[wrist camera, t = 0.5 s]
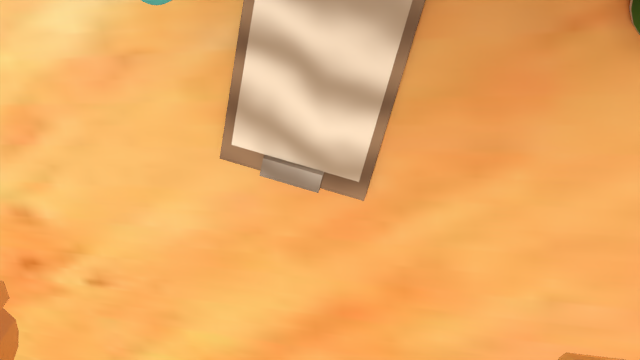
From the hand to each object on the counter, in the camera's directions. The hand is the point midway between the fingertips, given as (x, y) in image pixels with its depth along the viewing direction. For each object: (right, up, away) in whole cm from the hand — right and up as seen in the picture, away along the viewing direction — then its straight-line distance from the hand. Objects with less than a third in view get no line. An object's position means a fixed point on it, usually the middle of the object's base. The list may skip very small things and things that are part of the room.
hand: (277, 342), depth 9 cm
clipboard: (0, +12, +45) cm, 47 cm away
